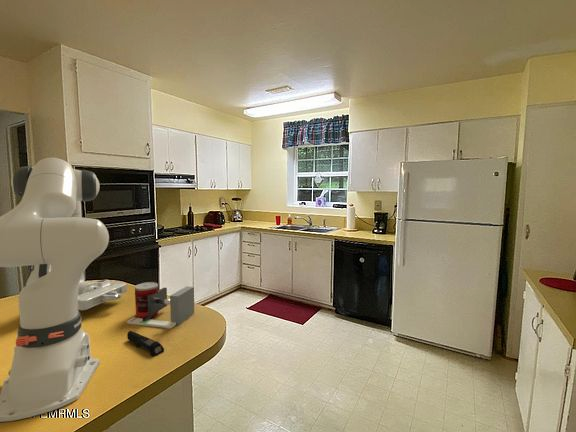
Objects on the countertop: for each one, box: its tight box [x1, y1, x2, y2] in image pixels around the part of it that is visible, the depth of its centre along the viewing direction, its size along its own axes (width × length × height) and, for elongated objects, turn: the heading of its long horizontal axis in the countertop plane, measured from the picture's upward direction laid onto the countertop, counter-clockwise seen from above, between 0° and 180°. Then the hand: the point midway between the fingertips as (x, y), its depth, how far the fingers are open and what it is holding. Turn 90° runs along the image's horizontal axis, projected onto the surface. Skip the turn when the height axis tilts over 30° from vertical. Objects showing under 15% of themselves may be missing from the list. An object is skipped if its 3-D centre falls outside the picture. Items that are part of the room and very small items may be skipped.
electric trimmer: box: [126, 330, 165, 357], centre depth 86 cm, size 4×16×3 cm, turn 56°
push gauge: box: [126, 286, 195, 329], centre depth 104 cm, size 18×13×10 cm
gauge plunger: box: [143, 287, 170, 321], centre depth 104 cm, size 7×12×8 cm, turn 167°
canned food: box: [134, 281, 159, 318], centre depth 107 cm, size 8×8×11 cm
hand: (118, 297), depth 111 cm, fingers closed
